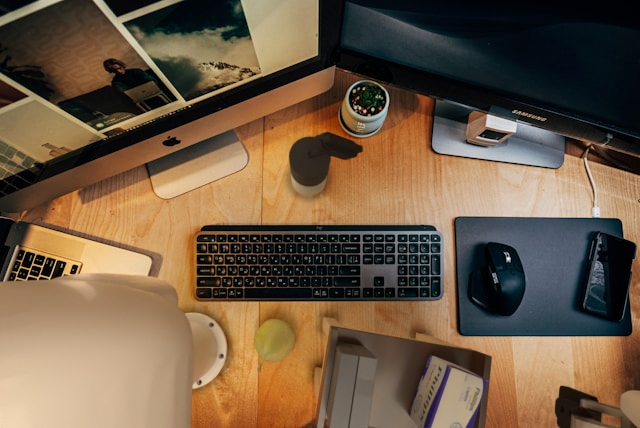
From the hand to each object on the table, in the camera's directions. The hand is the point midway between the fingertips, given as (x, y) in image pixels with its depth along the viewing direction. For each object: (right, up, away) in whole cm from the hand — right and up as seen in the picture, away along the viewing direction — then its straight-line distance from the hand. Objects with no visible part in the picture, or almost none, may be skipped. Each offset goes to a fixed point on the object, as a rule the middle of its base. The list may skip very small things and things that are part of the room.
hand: (620, 416), depth 35 cm
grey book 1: (-22, -3, +19) cm, 29 cm away
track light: (-24, +23, +47) cm, 57 cm away
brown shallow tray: (-15, -5, +20) cm, 25 cm away
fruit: (-32, -6, +41) cm, 53 cm away
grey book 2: (-20, -4, +19) cm, 28 cm away
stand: (-15, -9, +41) cm, 45 cm away
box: (-10, -6, +19) cm, 22 cm away
